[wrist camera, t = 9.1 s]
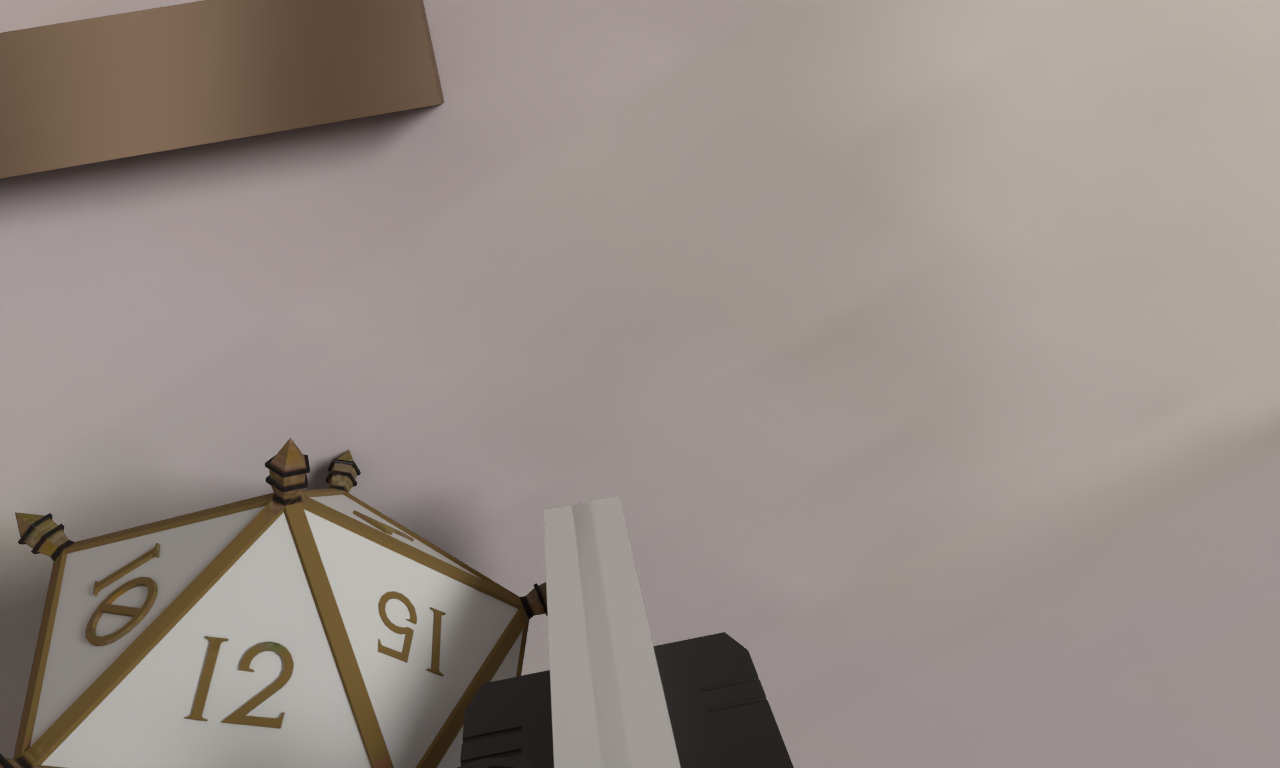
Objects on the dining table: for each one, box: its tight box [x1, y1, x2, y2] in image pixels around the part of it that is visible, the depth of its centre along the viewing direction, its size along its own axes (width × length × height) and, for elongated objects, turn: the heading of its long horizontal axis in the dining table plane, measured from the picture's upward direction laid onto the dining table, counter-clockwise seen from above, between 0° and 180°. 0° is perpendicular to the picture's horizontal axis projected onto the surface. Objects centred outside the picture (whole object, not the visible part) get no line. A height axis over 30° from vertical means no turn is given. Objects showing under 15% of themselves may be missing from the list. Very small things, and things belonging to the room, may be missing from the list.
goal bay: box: [0, 0, 444, 178], centre depth 18 cm, size 16×20×1 cm
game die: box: [0, 438, 548, 768], centre depth 15 cm, size 9×8×10 cm
